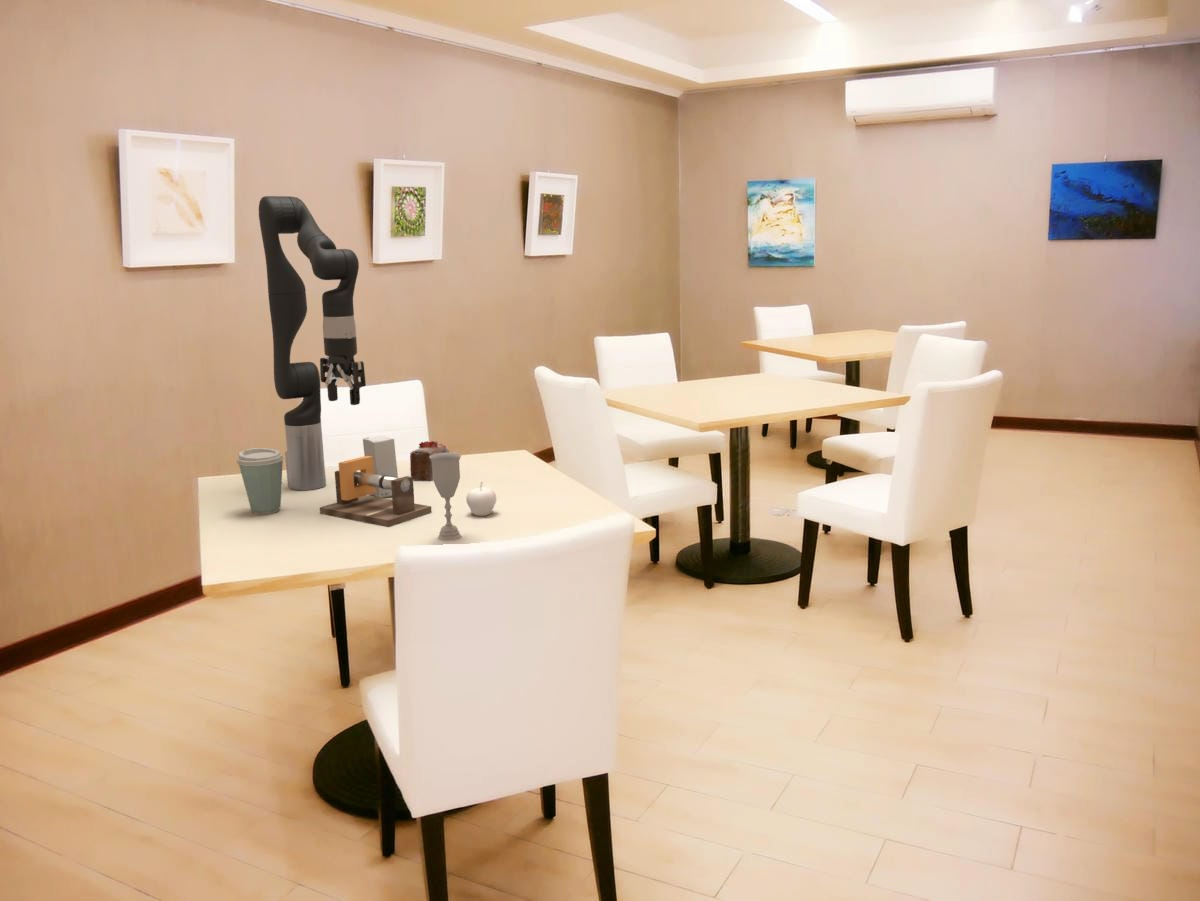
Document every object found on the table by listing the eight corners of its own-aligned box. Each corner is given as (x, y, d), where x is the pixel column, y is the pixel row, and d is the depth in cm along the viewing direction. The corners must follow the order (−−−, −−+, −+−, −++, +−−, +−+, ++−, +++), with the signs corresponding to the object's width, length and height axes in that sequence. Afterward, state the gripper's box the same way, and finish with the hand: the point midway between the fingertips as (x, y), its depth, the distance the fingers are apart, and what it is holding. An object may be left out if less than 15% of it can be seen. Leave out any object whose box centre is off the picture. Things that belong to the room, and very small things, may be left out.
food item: (425, 470, 276) (423, 436, 274) (452, 470, 275) (450, 436, 273) (408, 481, 263) (406, 445, 261) (436, 481, 261) (434, 446, 259)
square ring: (341, 499, 230) (338, 462, 228) (369, 491, 237) (367, 455, 235) (347, 500, 229) (344, 463, 227) (375, 492, 236) (372, 456, 234)
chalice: (435, 532, 213) (430, 453, 210) (466, 531, 214) (462, 452, 210) (432, 542, 206) (427, 460, 203) (464, 541, 207) (460, 459, 203)
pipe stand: (320, 513, 231) (317, 474, 229) (363, 500, 243) (361, 463, 241) (388, 526, 219) (386, 486, 217) (431, 512, 230) (429, 473, 228)
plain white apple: (473, 519, 223) (471, 486, 222) (463, 512, 230) (461, 480, 228) (501, 515, 226) (500, 482, 225) (490, 508, 233) (489, 476, 231)
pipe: (338, 483, 234) (337, 470, 233) (348, 480, 236) (347, 467, 236) (400, 493, 222) (400, 480, 222) (410, 490, 225) (410, 477, 224)
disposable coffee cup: (297, 507, 237) (292, 447, 234) (269, 519, 227) (263, 456, 224) (261, 504, 241) (255, 445, 237) (232, 516, 231) (226, 454, 228)
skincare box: (400, 495, 247) (396, 438, 244) (377, 499, 244) (373, 441, 241) (388, 489, 254) (384, 433, 251) (365, 492, 250) (361, 436, 247)
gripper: (308, 334, 230) (313, 401, 234) (345, 338, 221) (349, 408, 225) (334, 332, 236) (338, 397, 239) (371, 335, 227) (375, 403, 231)
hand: (344, 402), depth 232 cm, fingers open, 8 cm apart
